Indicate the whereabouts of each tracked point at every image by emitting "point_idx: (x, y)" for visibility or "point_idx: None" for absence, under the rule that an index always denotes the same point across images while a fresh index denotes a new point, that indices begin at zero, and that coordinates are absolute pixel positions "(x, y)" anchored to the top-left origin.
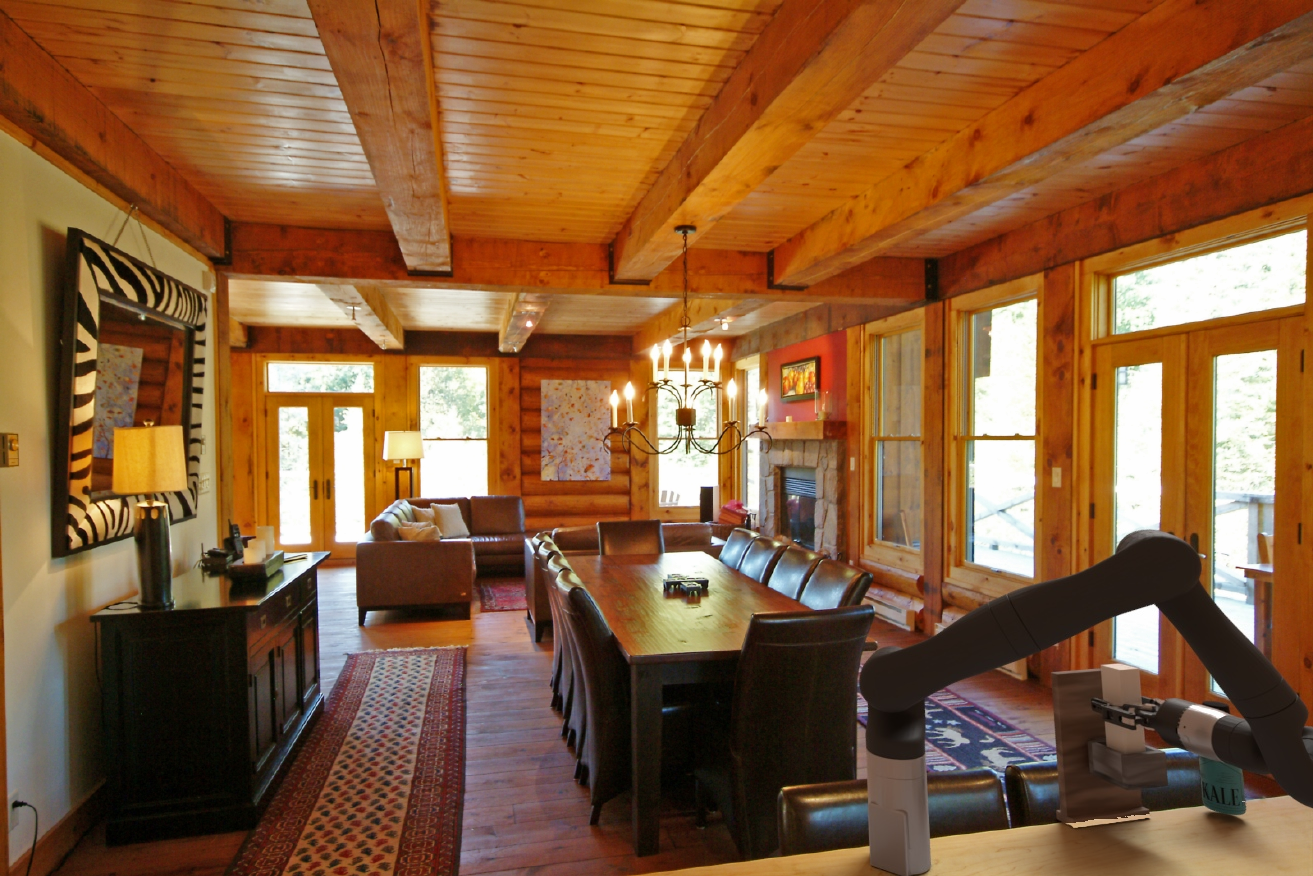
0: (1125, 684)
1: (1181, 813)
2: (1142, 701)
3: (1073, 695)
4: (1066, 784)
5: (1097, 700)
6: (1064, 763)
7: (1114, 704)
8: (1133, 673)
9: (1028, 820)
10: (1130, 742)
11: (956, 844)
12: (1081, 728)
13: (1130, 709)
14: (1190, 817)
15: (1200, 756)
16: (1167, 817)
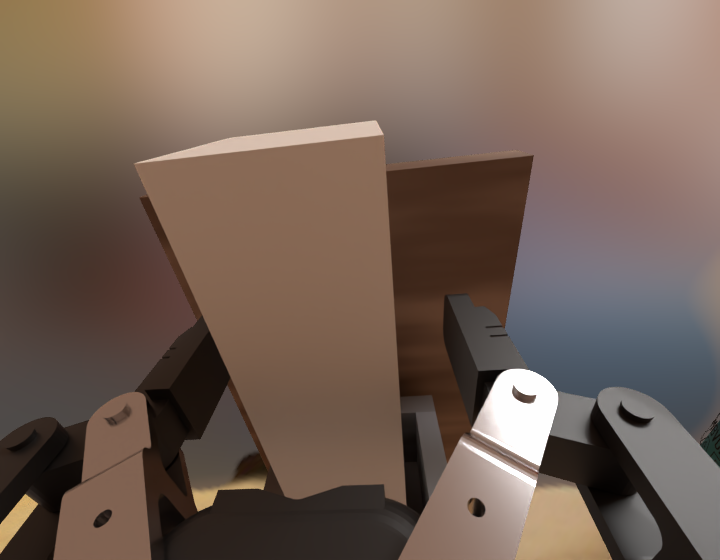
0: (235, 289)
1: (578, 510)
2: (459, 349)
3: None
4: (266, 456)
5: (187, 336)
6: (250, 426)
7: (111, 429)
8: (313, 192)
9: (239, 464)
10: None
11: (19, 528)
12: None
13: (309, 420)
14: (593, 538)
15: (711, 454)
16: (530, 522)
